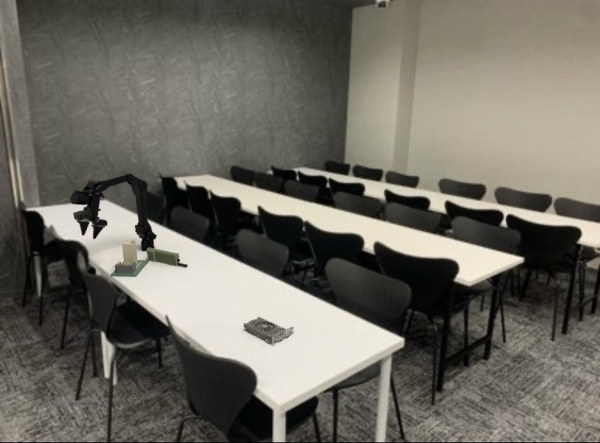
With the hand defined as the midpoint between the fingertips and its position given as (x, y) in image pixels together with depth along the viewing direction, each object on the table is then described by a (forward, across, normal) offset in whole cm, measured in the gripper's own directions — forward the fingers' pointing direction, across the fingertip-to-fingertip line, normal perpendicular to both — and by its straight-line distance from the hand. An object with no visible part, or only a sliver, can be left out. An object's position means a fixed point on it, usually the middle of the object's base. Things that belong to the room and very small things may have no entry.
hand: (88, 237), depth 224 cm
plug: (+11, +17, +14) cm, 24 cm away
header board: (+12, +17, +14) cm, 25 cm away
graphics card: (+16, +110, +5) cm, 111 cm away
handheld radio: (+9, +26, +29) cm, 40 cm away
